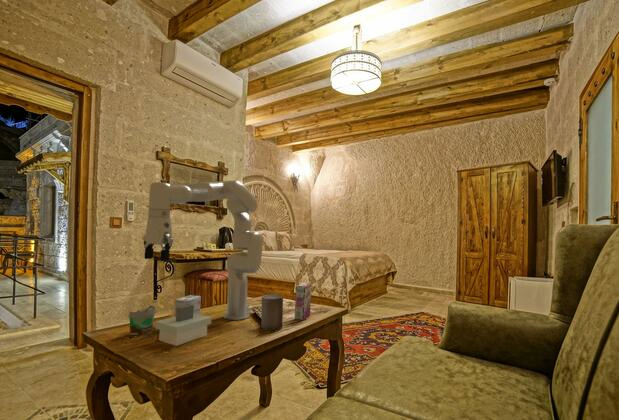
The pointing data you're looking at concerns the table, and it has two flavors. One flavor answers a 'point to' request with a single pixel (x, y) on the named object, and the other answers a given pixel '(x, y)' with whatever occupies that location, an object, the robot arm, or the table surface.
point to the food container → (142, 321)
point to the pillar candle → (272, 312)
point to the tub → (182, 336)
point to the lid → (183, 321)
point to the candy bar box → (302, 301)
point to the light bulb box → (189, 300)
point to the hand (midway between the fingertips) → (156, 259)
